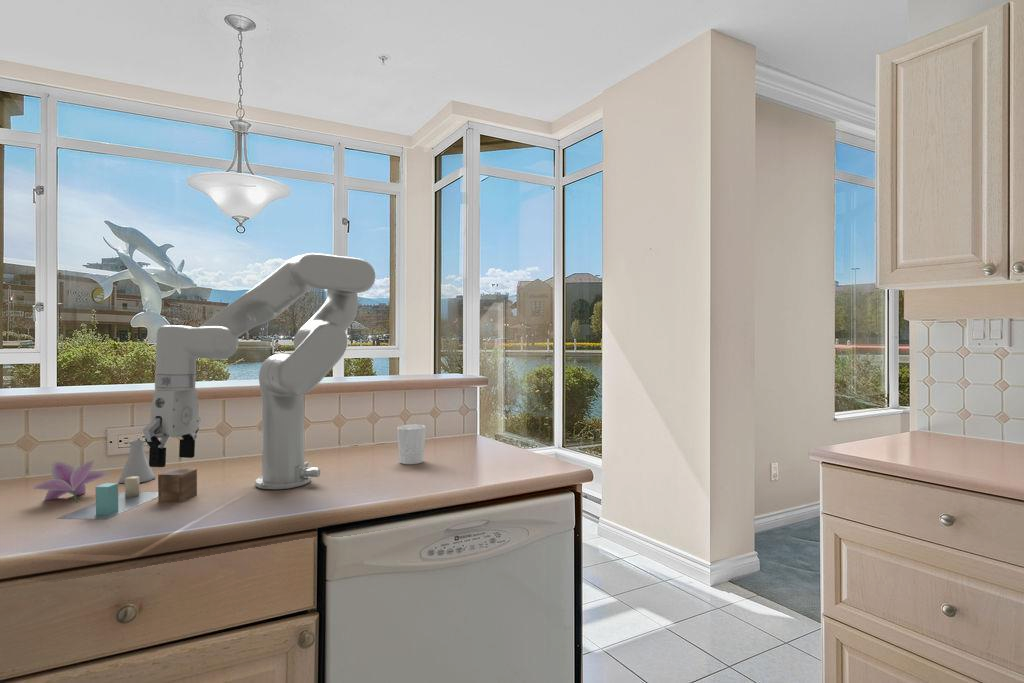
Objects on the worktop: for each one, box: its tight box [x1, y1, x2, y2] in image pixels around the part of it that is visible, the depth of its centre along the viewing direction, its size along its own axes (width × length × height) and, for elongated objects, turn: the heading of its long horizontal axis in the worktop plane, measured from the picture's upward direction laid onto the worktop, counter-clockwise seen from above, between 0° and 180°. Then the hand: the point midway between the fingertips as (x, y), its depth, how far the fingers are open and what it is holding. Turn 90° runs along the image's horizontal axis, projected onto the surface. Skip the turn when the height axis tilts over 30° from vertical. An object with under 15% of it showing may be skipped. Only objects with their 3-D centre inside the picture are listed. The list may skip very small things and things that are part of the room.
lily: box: [32, 460, 109, 504], centre depth 121 cm, size 12×12×10 cm
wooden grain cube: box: [157, 467, 198, 503], centre depth 122 cm, size 5×5×7 cm
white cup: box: [397, 424, 426, 465], centre depth 160 cm, size 8×8×10 cm
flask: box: [118, 438, 156, 485], centre depth 139 cm, size 7×7×10 cm
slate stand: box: [56, 476, 158, 521], centre depth 118 cm, size 10×18×5 cm, turn 177°
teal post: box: [95, 482, 119, 515], centre depth 112 cm, size 3×3×6 cm
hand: (172, 461), depth 121 cm, fingers open, 9 cm apart
